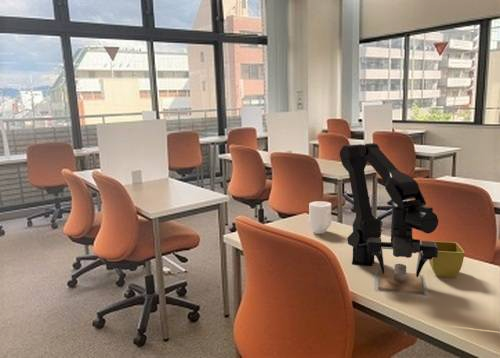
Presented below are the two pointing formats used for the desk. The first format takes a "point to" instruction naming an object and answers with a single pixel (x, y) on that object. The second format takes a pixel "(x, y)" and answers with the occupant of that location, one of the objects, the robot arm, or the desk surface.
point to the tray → (400, 292)
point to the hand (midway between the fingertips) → (399, 274)
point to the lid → (400, 281)
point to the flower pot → (447, 259)
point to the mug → (320, 216)
